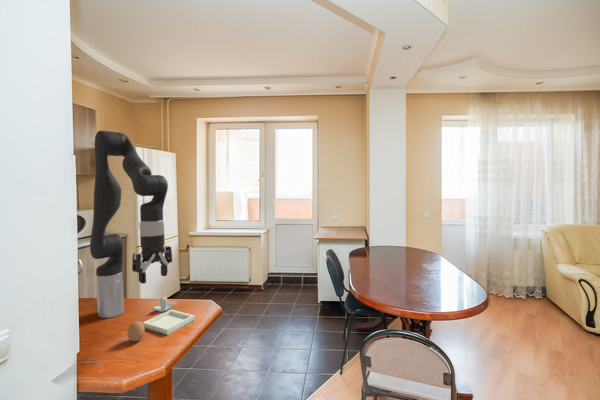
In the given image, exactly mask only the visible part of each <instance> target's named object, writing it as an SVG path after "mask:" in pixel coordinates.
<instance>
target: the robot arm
mask: <svg viewBox="0 0 600 400" xmlns="http://www.w3.org/2000/svg"><path fill="white" fill-rule="evenodd" d="M109 156H110V157H111V156H113V157H123V160H122V162H121V163H122V164H121V165H122V169H123V171H124V172H125V174H126V175H127V177H129V179H130V180H131V183H132V187H133V191H134V193H135V194H137V195H138V196H140V197H150V196H151V197H152V199H151V201H147V202H144V203H142V204H141V205H140V207H139V208H140V209H139V210H140V211H139V212H140V213H139V214H140V225H139V232H140V233H139V234H140V235H139V238H140V239H139V240H140V243H139V244H140V248H141V252H140V253H135V252H134V253H132V259H131V261H132V262H131V263H132V267H131V271H132V272H133V273H134V272H135V273H138V282H139V283H140V284H142V285H143V284H144V285H145V284H146V283H147V274H146V270H147V269H148V268H149V267H150V266H151V264H154V263H158V262H159V264H160V276H162V277H166V276H168V273H169V272H168V265H169V264H171V263H172V262H173V255H172V254H173V253H172V252H173V251H172V247H171V246H169V245H165V241H166V240H165V223H164V205H165V200H166V197H167V193H168V190H169V188H168V187H169V185H168V180H167V179H166V177H165V176H163V175H161V174H152V170H151V169H150V167H149V166H148V165H147V164H146V163H145V161H143V160H142V159H141V157H140V156H139V154H138V152H137V151H136V149H135V147H134V144H133V143H132V141H131V140H130V138H129V137H128V136H127V134H125V133H123V132H118V131H117V132H116V131H108V130H98V131H97V132H96V134H95V136H94V163H95V164H94V165H95V167H94V168H95V171H94V172H95V174H94V175H95V176H94V190H93V213H92V214H93V217H92V220H93V221H92V229H91V232H90V233H91V235H90V241H89V253H90V255H91V257H92V258H93V259H95V260H101V259H106V258H108V259H107V260H106V261H105V262H104V263H102V264H101V265H99V266H98V267H96V269H95V274H96V275H95V276H96V307H97V309H96V310H97V315H98V317H99V318H103V319H105V318H106V319H107V318H108V319H109V318H114V317H117V316H119V315H120V316H121V314H123V313H124V312H125V304H124V284H123V283H124V282H123V265H124V243H123V239H122V236H121V235H120V234H118V233H112V234H111V233H109V234H105V233H106V229H107V227H108V225H109V223H110V222H111V220H112V218H113V217H115V215H116V213H117V212H118V211H119V210H120V207H121V204H122V203H121V200H122V188H121V186H120V183H119V182H118V181H117V178H116V177H115V176H114V175H113V173H112V171H111V169H110V166H109V161H108V157H109Z"/></svg>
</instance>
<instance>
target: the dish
mask: <svg viewBox="0 0 600 400" xmlns="http://www.w3.org/2000/svg"><path fill="white" fill-rule="evenodd" d="M195 321H196V315H194V314H190V313H186V312H182V311H180V310H179V311H178V310H175V309H174V310H173V309H169V310H168V311H165V312H162V313H161V314H159V315H156V316H154V317H152V318H150V319H147V320H145V321H143V322H142V324H143V325H144V328H145V329H146V330H149V331H153V332H156V333H159V334H162V335H165V336H168V335H171V334H173V333H174V332H176V331H178V330H180V329H182V328H184V327H186V326H187V325H189V324H191V323H193V322H195Z"/></svg>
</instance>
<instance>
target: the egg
mask: <svg viewBox="0 0 600 400" xmlns="http://www.w3.org/2000/svg"><path fill="white" fill-rule="evenodd" d="M145 329H146V328H144V325H143V322H141V321H140V320H134V321H132V322H131V323H130V324H129V326H128V328H127V333H126V335H127V337H128V339H129V340H130V341H131V342H139V341H140V340H141V339H142V338H144V336H145V334H146V333H145V332H146V330H145Z"/></svg>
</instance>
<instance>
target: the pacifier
mask: <svg viewBox="0 0 600 400" xmlns="http://www.w3.org/2000/svg"><path fill="white" fill-rule="evenodd" d="M167 302H168V299H167V297H165V296H162V297H161V298H160V299H159V304H160V305H157V306H154V307H153V308H154V310H155V311H156V312H159V313H165V312H167V311H169V310H171V308H172V307H173V306H174V304H173V303H169V304H167Z"/></svg>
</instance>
